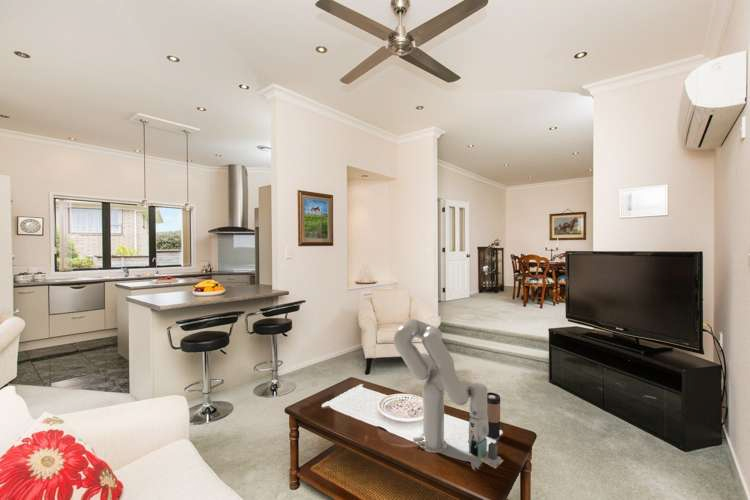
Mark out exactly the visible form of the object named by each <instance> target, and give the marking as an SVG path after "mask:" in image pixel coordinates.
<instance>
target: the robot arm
mask: <svg viewBox="0 0 750 500" xmlns="http://www.w3.org/2000/svg"><path fill="white" fill-rule="evenodd" d="M415 338H418V339H420V340H421V342H422V345H423V347H424V349H425V351H426V352H427V353H424V352H422V353H421V352H420V351H419V349H418V348H417V346H416V345H415V344H413V340H414V339H415ZM442 339H443V332H442V330H440V329H439V328H438V327H436V326H434V325H431V324H429V323H426V322H422V321H420V320H419V319H415V318H409V319H406V320H405V321H404V322H403V323H401V324H400V325H399V327H398V328H397V330H396V331H395V334H394V336H393V344H394V348H395V350H396V351H397V353H398V354H399V355H400V357H401V359H402V360H403V362H404V364H405V365H406V366H407V368H408V370H409V371H410V373H411V374H412V375H413V377H414V378H415V379H416V380H418V381H425V382H424V385H423V387H422V403H423V405H422V406H423V408H422V411H423V417H422V419H423V422H422V423H423V424H422V425H423V427H422V428H423V429H422V432H423V433H421V436H417V437H413V439H412V441H413V443H416V444H417V445H419V446H420V448H421V449H423V450H424V451H426V452H430V453H434V454H435V453H442V452H444V451H446V450H447V448H448V443H447V441H446V440H445V402H444V401H445V400H444V399H445V398H444V397H445V392H446V393H447V395H448V397H449V398H450V400H451V401H452V402H453V403H454V404H456V405H458V406H464V405H465V404H467V402H468V401H469V420H468V439H467V443H468V445H469V444H470V446H471V454H473V455H475V456H478V447H477V443H478V442H480V441H482V440H483V439H484V438H488V437H487V436H488V434H489V426H488V416H487V393H488V388H487V386H486V385H485V384H483V383H479V382H472V381H468V380H465V379H459V378H458V376H457V372H456V369H455V364H454V360H453V356H452V355H451V353H450V351H449V350H448V349H447V347H446V346H445V344H444V342H443V340H442ZM473 441H475V444H474V443H473Z"/></svg>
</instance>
